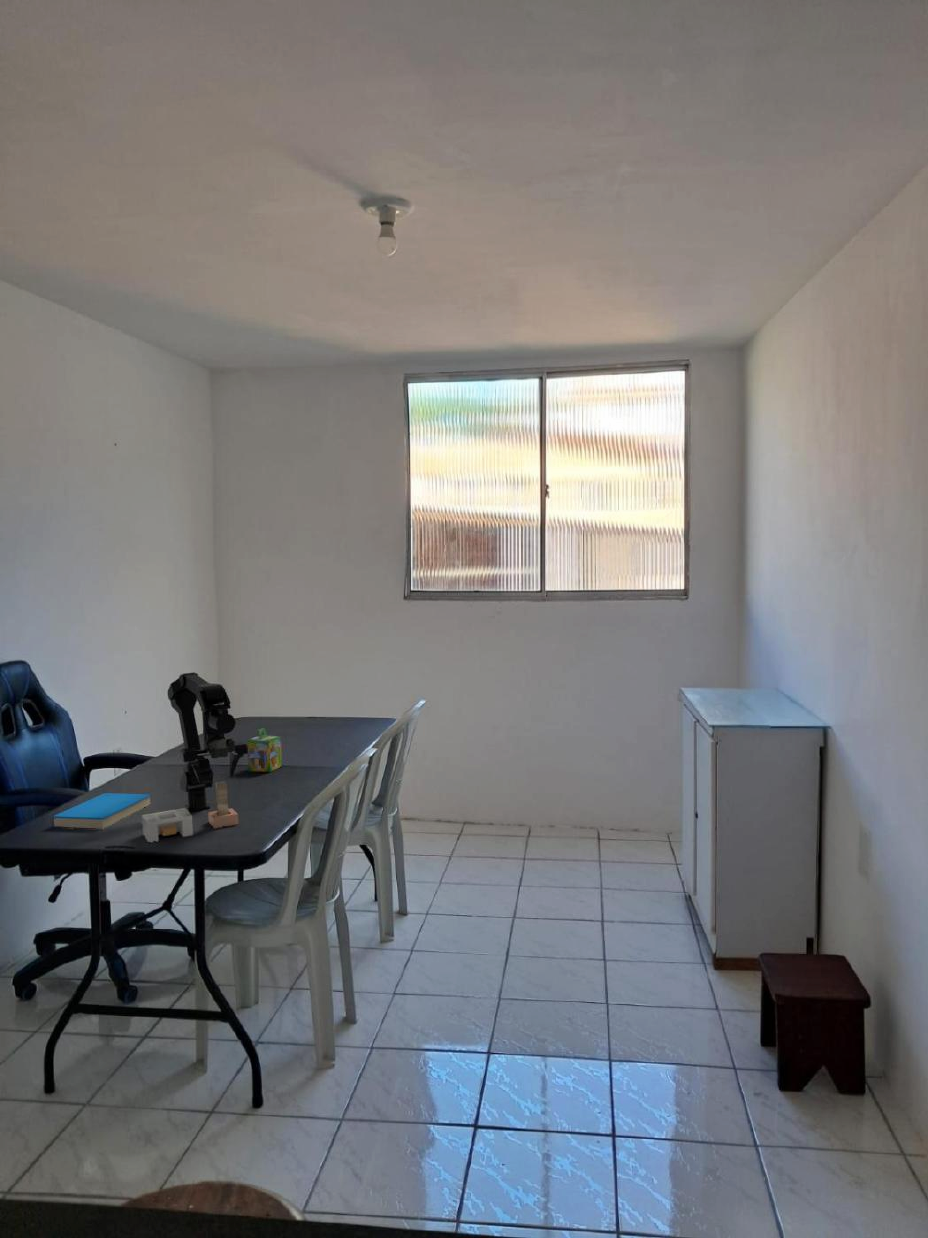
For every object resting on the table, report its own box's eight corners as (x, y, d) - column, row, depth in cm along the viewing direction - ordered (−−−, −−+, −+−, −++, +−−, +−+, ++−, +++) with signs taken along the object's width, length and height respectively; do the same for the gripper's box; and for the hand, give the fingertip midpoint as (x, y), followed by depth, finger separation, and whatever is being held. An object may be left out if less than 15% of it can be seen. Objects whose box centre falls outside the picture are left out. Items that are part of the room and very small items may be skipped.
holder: (208, 822, 268) (208, 812, 267) (232, 818, 271) (231, 808, 271) (214, 828, 261) (213, 818, 261) (238, 824, 265) (237, 814, 264)
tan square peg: (217, 823, 267) (215, 782, 266) (226, 821, 268) (224, 781, 267) (220, 825, 264) (217, 784, 263) (229, 823, 266) (226, 783, 265)
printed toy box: (270, 773, 325) (267, 732, 324) (247, 771, 328) (245, 731, 327) (283, 766, 334) (281, 726, 332) (261, 765, 337) (259, 726, 335)
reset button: (160, 832, 257) (160, 827, 257) (173, 830, 258) (173, 825, 258) (163, 836, 254) (162, 830, 253) (176, 833, 255) (176, 828, 255)
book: (150, 794, 288) (103, 816, 264) (151, 807, 289) (104, 831, 264) (102, 793, 292) (51, 815, 268) (103, 806, 292) (52, 829, 268)
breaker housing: (143, 834, 258) (141, 815, 258) (186, 827, 264) (185, 808, 263) (148, 843, 250) (147, 823, 249) (193, 835, 255) (192, 816, 255)
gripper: (186, 737, 255) (189, 791, 257) (252, 729, 264) (254, 781, 266) (178, 730, 265) (181, 782, 267) (242, 722, 274) (244, 773, 276)
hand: (215, 780), depth 268 cm, fingers open, 9 cm apart
